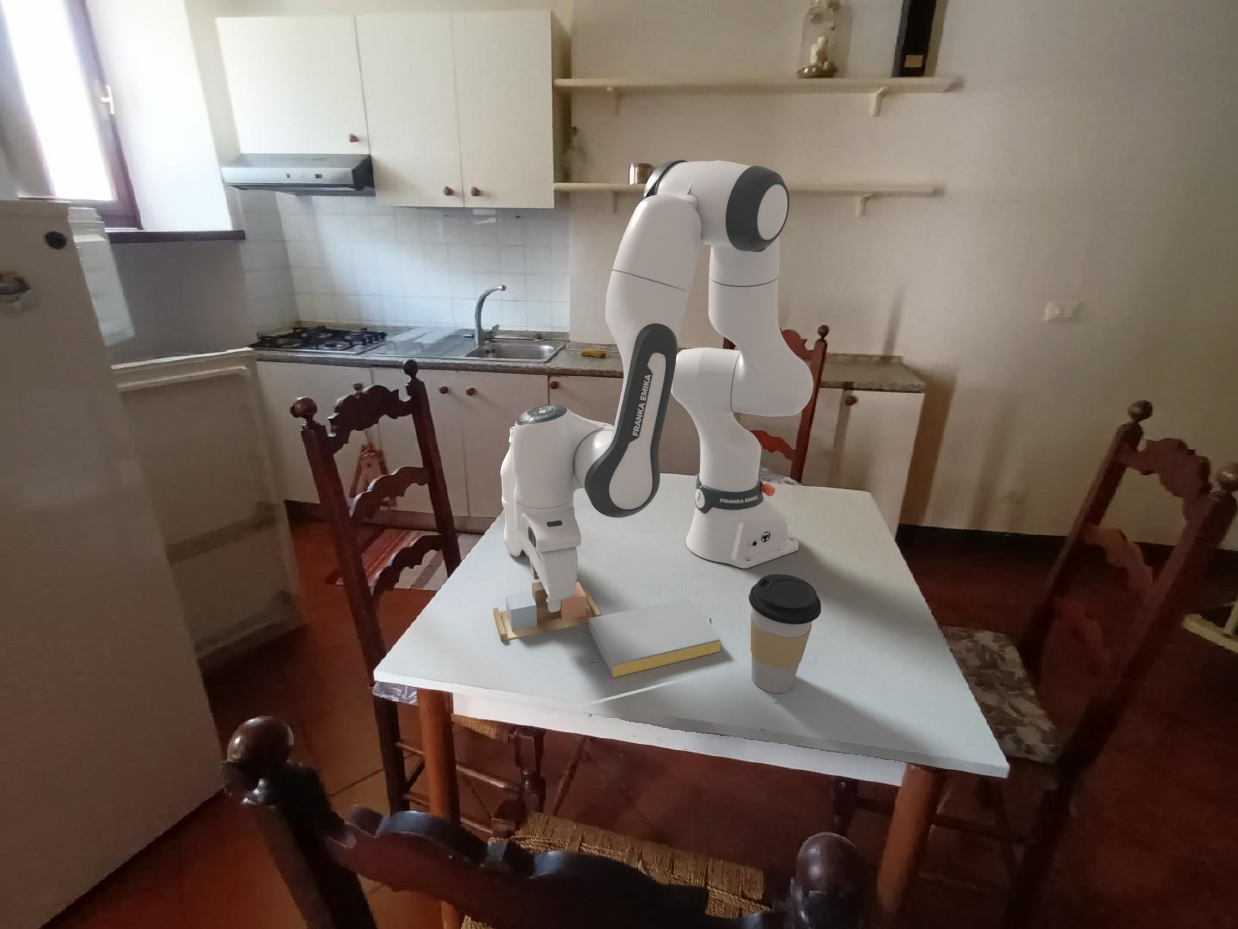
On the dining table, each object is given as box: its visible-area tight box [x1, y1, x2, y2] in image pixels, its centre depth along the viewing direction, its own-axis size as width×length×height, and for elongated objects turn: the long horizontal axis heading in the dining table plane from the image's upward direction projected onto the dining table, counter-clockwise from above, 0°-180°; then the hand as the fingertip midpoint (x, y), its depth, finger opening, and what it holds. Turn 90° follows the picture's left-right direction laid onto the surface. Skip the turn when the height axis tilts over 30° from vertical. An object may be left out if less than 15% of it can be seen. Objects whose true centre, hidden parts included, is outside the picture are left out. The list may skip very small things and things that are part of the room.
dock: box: [588, 597, 722, 678], centre depth 92 cm, size 17×11×2 cm, turn 110°
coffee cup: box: [748, 573, 822, 694], centre depth 83 cm, size 9×9×15 cm
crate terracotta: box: [560, 581, 586, 621], centre depth 98 cm, size 4×4×4 cm
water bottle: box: [499, 426, 529, 558], centre depth 112 cm, size 7×7×25 cm
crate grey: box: [505, 590, 537, 631], centre depth 95 cm, size 4×4×4 cm
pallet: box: [492, 581, 602, 642], centre depth 96 cm, size 16×7×7 cm, turn 110°
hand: (545, 592), depth 95 cm, fingers open, 8 cm apart
